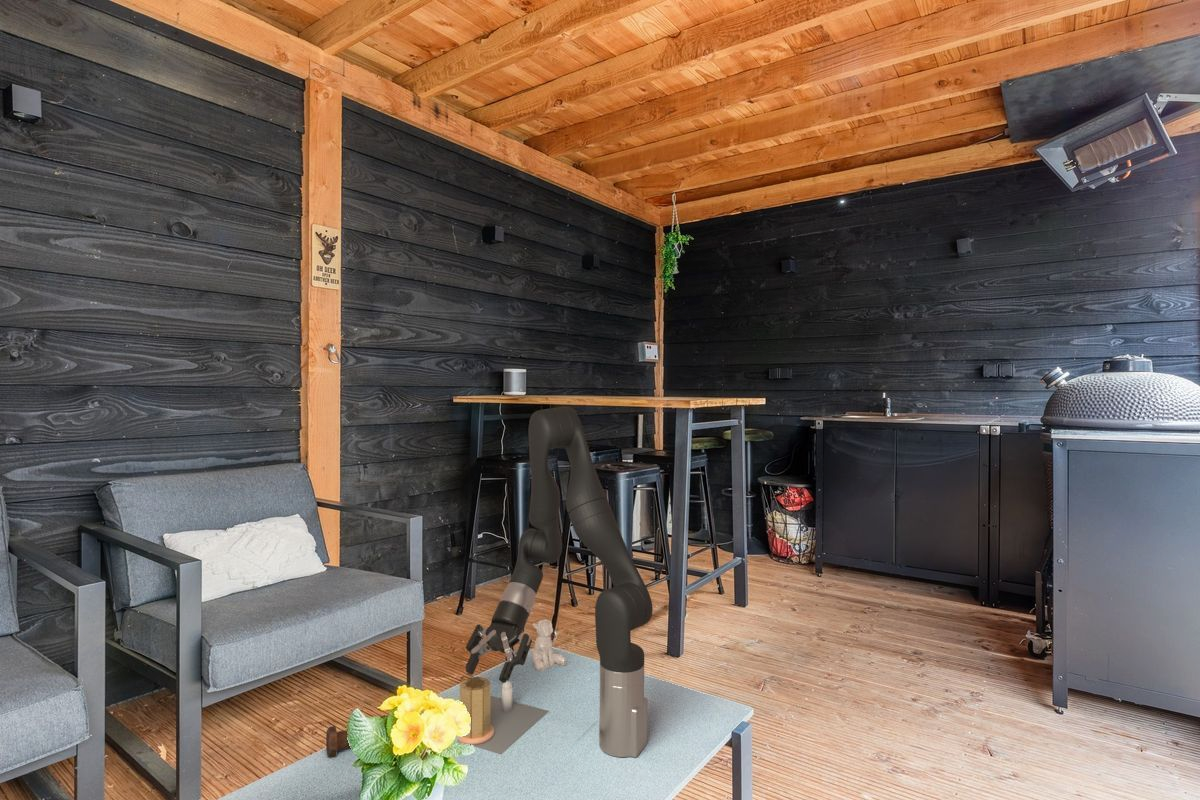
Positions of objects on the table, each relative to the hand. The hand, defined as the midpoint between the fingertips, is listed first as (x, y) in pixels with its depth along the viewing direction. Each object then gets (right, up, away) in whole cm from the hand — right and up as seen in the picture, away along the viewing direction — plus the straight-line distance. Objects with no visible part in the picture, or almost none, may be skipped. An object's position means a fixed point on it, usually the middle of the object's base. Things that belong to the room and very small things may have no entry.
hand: (485, 677), depth 138 cm
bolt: (-24, -13, -4) cm, 27 cm away
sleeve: (-2, -10, -3) cm, 11 cm away
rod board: (+1, -12, +3) cm, 13 cm away
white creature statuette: (+10, -12, +35) cm, 38 cm away
